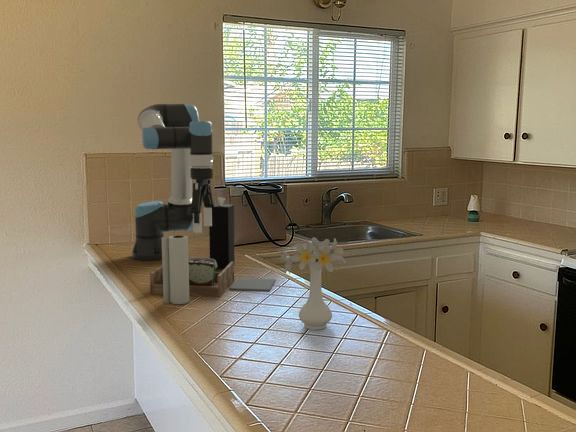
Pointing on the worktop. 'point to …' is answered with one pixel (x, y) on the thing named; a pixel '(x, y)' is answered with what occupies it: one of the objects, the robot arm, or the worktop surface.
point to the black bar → (222, 234)
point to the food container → (202, 271)
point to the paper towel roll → (175, 269)
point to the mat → (252, 284)
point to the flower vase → (315, 279)
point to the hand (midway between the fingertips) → (202, 229)
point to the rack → (222, 277)
